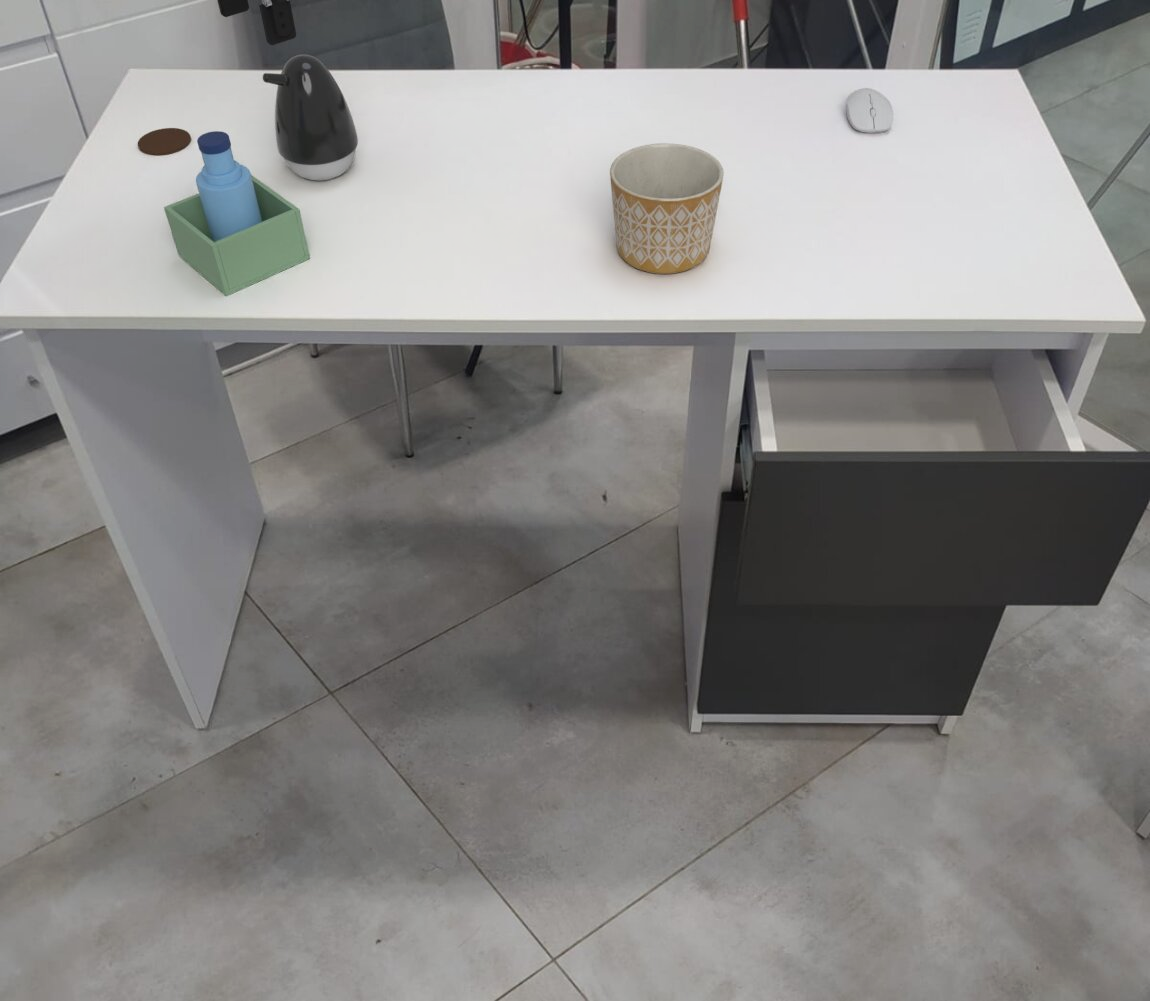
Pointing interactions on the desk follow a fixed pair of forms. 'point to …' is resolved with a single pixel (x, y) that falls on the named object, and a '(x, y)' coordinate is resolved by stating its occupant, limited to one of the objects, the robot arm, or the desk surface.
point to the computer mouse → (869, 111)
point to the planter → (665, 206)
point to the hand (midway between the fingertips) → (258, 26)
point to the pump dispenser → (312, 120)
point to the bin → (240, 241)
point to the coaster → (164, 141)
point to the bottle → (225, 188)
